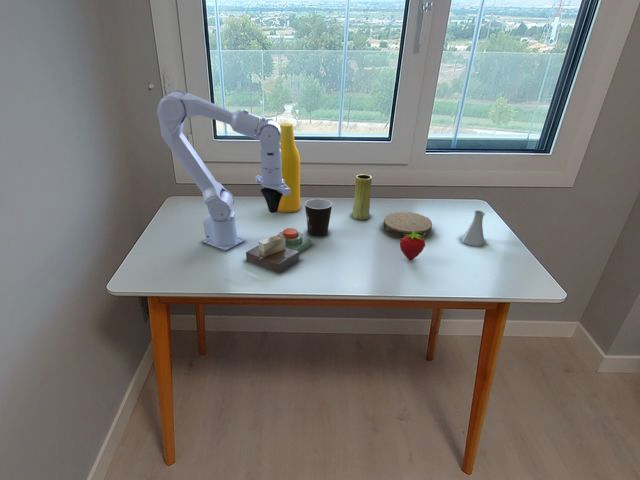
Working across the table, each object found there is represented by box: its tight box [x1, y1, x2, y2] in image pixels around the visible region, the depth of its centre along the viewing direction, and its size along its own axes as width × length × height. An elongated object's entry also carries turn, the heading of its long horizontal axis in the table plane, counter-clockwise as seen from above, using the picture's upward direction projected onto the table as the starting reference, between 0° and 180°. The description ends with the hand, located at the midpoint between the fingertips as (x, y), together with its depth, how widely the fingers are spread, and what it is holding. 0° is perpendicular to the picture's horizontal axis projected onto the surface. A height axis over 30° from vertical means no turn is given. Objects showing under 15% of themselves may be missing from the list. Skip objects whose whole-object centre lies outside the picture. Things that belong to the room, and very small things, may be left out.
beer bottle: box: [277, 122, 301, 213], centre depth 156 cm, size 9×9×29 cm
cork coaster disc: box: [382, 211, 433, 240], centre depth 150 cm, size 16×16×3 cm
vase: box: [351, 173, 373, 220], centre depth 155 cm, size 6×6×14 cm
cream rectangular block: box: [258, 233, 285, 257], centre depth 128 cm, size 8×2×4 cm, turn 131°
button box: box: [278, 230, 312, 253], centre depth 138 cm, size 10×8×4 cm
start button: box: [282, 227, 298, 239], centre depth 137 cm, size 4×4×2 cm
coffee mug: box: [304, 198, 333, 238], centre depth 146 cm, size 12×9×10 cm
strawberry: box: [399, 229, 426, 262], centre depth 131 cm, size 6×8×10 cm
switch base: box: [245, 244, 300, 275], centre depth 130 cm, size 12×12×3 cm
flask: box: [461, 210, 486, 247], centre depth 142 cm, size 7×7×10 cm
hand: (273, 211), depth 134 cm, fingers closed
